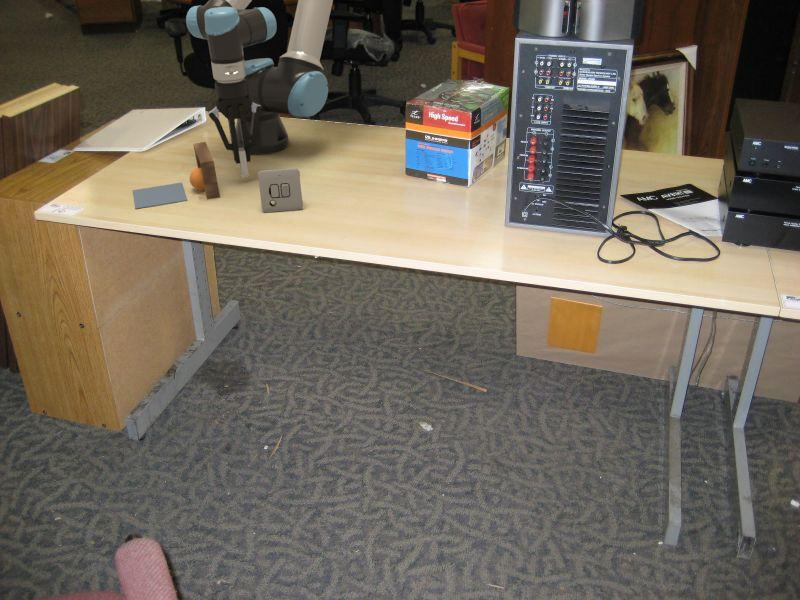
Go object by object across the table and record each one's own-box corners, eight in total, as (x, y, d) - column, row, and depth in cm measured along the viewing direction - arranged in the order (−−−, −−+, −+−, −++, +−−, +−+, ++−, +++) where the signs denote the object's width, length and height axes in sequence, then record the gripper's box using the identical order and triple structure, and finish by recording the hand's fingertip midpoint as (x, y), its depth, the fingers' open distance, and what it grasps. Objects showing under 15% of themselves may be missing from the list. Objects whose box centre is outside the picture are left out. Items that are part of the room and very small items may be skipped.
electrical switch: (262, 213, 170) (256, 173, 166) (263, 206, 174) (258, 167, 170) (303, 210, 171) (299, 171, 167) (303, 203, 175) (299, 164, 171)
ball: (189, 187, 184) (211, 185, 186) (192, 194, 180) (215, 192, 181) (187, 165, 182) (210, 164, 184) (190, 172, 177) (213, 170, 179)
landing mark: (182, 183, 187) (182, 182, 187) (187, 200, 177) (187, 199, 177) (132, 190, 184) (132, 190, 184) (135, 209, 174) (135, 208, 174)
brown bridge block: (211, 176, 190) (205, 141, 185) (220, 197, 178) (213, 160, 174) (199, 178, 189) (193, 143, 185) (207, 199, 178) (200, 162, 173)
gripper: (204, 86, 168) (220, 184, 181) (261, 79, 172) (273, 175, 184) (200, 78, 174) (216, 173, 187) (255, 71, 178) (267, 165, 190)
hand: (244, 174), depth 185 cm, fingers closed
